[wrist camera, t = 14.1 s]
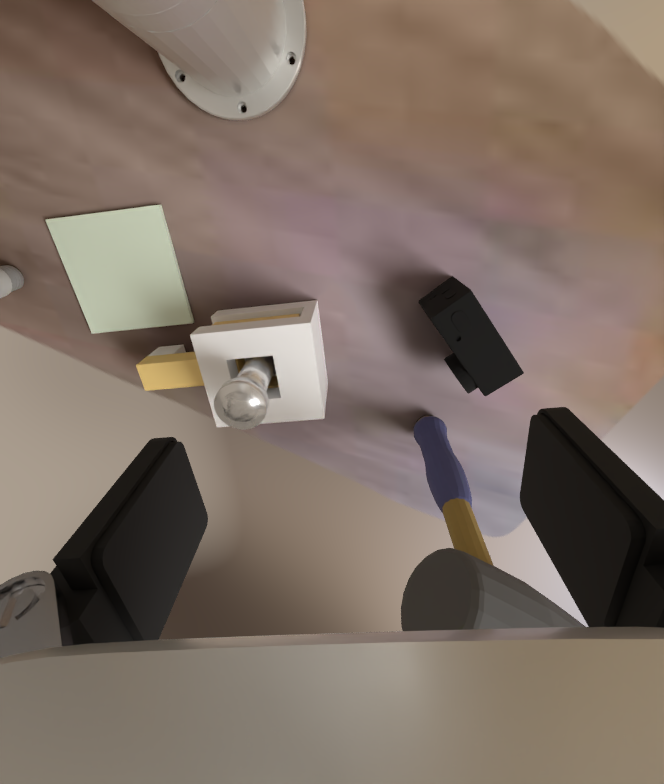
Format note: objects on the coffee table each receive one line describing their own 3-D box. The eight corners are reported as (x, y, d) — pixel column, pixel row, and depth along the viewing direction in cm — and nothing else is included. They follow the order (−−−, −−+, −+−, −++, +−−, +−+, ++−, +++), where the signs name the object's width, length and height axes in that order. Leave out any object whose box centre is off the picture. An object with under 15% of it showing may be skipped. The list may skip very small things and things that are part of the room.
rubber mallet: (370, 418, 48) (398, 692, 22) (409, 375, 45) (498, 630, 19) (442, 467, 51) (546, 760, 25) (484, 429, 48) (653, 715, 22)
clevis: (149, 317, 43) (107, 343, 36) (317, 300, 42) (310, 322, 34) (175, 395, 48) (142, 433, 40) (328, 382, 46) (324, 418, 39)
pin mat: (48, 219, 39) (45, 219, 39) (161, 204, 38) (159, 204, 38) (94, 332, 44) (91, 333, 44) (194, 321, 43) (192, 323, 43)
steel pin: (247, 331, 44) (207, 385, 31) (285, 328, 43) (260, 381, 31) (255, 367, 46) (220, 431, 33) (291, 363, 45) (270, 427, 33)
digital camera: (408, 307, 42) (418, 326, 36) (451, 275, 40) (470, 289, 34) (457, 375, 45) (474, 403, 39) (499, 348, 44) (524, 373, 37)
